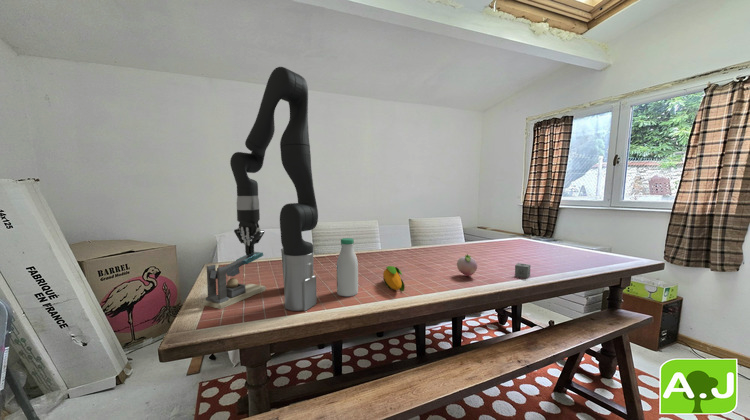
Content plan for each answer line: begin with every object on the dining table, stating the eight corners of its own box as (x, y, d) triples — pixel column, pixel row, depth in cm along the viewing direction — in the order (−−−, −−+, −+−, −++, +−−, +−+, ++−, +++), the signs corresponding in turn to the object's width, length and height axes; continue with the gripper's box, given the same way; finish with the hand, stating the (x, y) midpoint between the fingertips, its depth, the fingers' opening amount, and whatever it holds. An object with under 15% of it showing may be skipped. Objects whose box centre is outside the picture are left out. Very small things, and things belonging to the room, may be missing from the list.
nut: (241, 287, 98) (240, 277, 98) (232, 290, 95) (231, 280, 95) (233, 286, 100) (233, 276, 99) (224, 289, 96) (224, 279, 96)
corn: (398, 261, 119) (408, 275, 99) (399, 279, 119) (410, 296, 99) (380, 263, 118) (388, 277, 98) (381, 281, 118) (389, 298, 99)
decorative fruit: (455, 273, 129) (455, 251, 128) (473, 273, 127) (474, 252, 127) (458, 279, 119) (458, 256, 119) (478, 280, 118) (479, 256, 118)
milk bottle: (362, 293, 103) (362, 238, 102) (346, 298, 97) (346, 241, 96) (348, 288, 108) (348, 236, 107) (332, 293, 102) (332, 238, 101)
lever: (257, 281, 104) (264, 252, 107) (217, 279, 89) (226, 245, 92) (247, 280, 106) (254, 251, 109) (206, 277, 91) (215, 244, 94)
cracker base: (265, 290, 106) (265, 256, 105) (220, 309, 89) (219, 269, 88) (249, 287, 109) (249, 254, 108) (203, 305, 92) (201, 266, 91)
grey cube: (530, 275, 125) (530, 264, 124) (527, 278, 121) (527, 267, 121) (517, 273, 128) (518, 263, 128) (514, 276, 124) (515, 265, 124)
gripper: (269, 208, 104) (271, 254, 105) (243, 207, 109) (244, 251, 110) (254, 209, 97) (255, 259, 98) (226, 208, 102) (228, 255, 103)
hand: (249, 254), depth 104 cm, fingers closed
